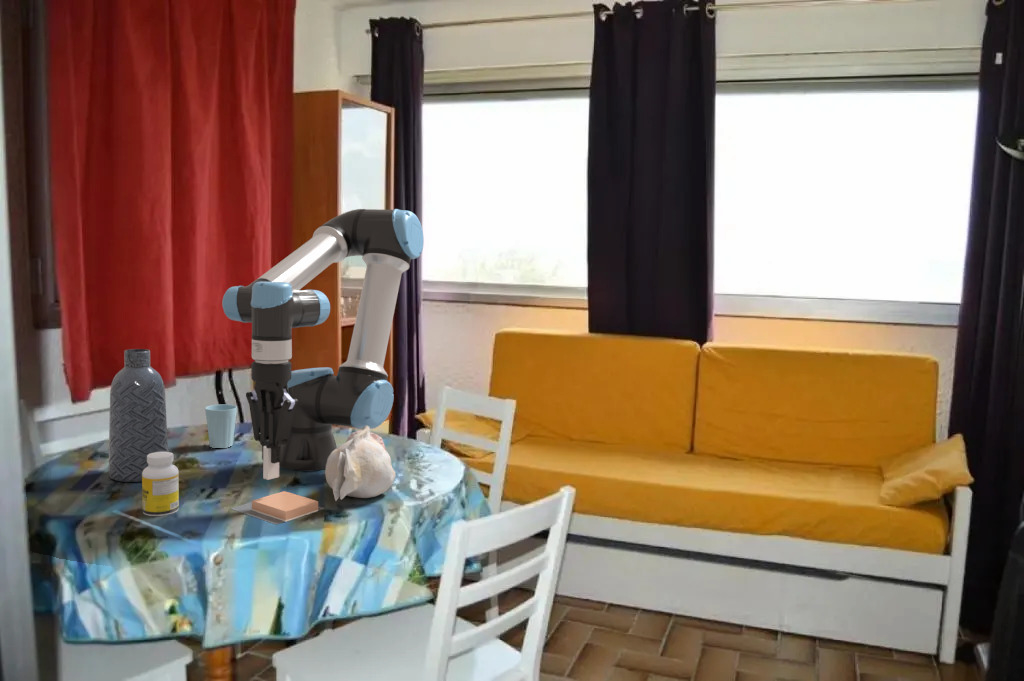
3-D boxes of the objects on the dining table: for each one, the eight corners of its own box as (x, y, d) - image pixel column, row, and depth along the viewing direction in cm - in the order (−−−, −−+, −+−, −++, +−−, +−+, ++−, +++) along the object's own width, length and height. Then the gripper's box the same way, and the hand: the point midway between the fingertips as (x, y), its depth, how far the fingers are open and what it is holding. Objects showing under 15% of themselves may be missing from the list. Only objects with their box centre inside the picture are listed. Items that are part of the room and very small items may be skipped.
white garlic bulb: (412, 495, 167) (413, 427, 166) (340, 515, 153) (341, 441, 151) (364, 479, 178) (365, 414, 176) (292, 497, 163) (293, 427, 161)
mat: (229, 510, 153) (229, 508, 153) (278, 496, 163) (278, 494, 163) (276, 527, 146) (276, 524, 145) (325, 510, 155) (325, 508, 155)
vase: (100, 474, 174) (97, 349, 171) (155, 464, 183) (153, 345, 179) (121, 486, 166) (119, 355, 162) (178, 476, 174) (176, 351, 171)
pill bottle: (149, 507, 154) (149, 450, 152) (183, 507, 154) (183, 450, 153) (137, 518, 147) (136, 458, 146) (172, 518, 148) (171, 459, 146)
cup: (240, 448, 200) (240, 408, 199) (209, 451, 196) (209, 411, 194) (232, 441, 206) (232, 403, 205) (202, 445, 202) (201, 405, 201)
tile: (251, 500, 152) (285, 511, 147) (284, 491, 159) (318, 501, 153) (251, 510, 153) (285, 521, 147) (284, 500, 159) (318, 511, 154)
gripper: (234, 358, 153) (234, 475, 155) (278, 366, 145) (277, 488, 148) (265, 355, 159) (265, 467, 161) (309, 362, 152) (308, 479, 154)
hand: (271, 477), depth 155 cm, fingers closed
